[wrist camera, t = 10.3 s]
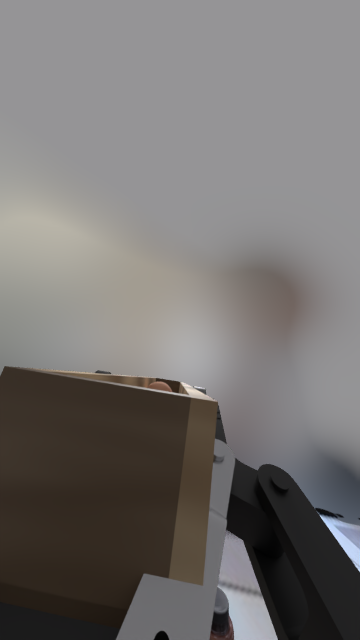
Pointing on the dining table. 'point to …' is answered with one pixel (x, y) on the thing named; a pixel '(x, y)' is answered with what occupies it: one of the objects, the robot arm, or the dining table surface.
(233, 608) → the dining table surface
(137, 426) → the brown wooden bar
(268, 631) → the dining table surface
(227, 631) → the supplement bottle
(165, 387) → the ball
